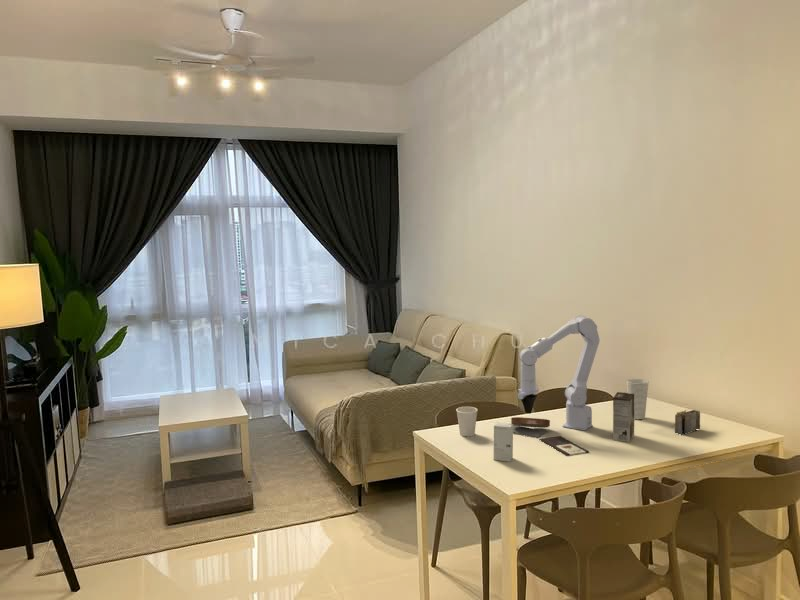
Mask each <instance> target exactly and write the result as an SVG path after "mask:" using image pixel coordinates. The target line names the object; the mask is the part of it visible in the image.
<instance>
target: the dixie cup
mask: <svg viewBox="0 0 800 600" xmlns="http://www.w3.org/2000/svg"><path fill="white" fill-rule="evenodd" d="M455 411H456V415H457V422H458V423H457V424H458V429H459V435H460V436H461V435H462V436H461V437H464V436H471V437H474V436H475V434H476V426H477V416H478V408H476V407H473V406H460V407H458V408H456V409H455Z"/></svg>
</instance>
